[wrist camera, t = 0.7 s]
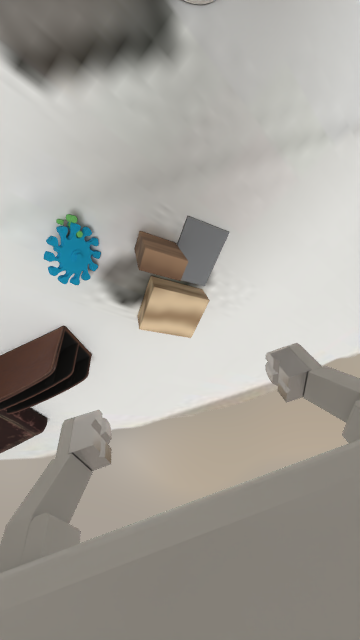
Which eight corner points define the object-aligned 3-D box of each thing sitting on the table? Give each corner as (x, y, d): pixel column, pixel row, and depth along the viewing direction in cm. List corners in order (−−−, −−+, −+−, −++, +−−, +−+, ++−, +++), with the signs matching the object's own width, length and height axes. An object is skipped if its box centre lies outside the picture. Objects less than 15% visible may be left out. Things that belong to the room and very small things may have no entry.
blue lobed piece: (101, 282, 44) (50, 291, 35) (80, 273, 46) (27, 279, 38) (105, 220, 39) (48, 212, 31) (81, 213, 41) (22, 205, 33)
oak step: (150, 275, 47) (154, 286, 43) (202, 289, 51) (209, 300, 47) (137, 316, 51) (139, 329, 47) (185, 325, 56) (191, 337, 52)
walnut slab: (139, 230, 41) (145, 247, 33) (175, 242, 44) (188, 261, 36) (134, 249, 43) (138, 269, 35) (169, 259, 46) (180, 280, 38)
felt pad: (187, 215, 42) (188, 216, 41) (228, 231, 45) (229, 232, 45) (166, 275, 47) (166, 275, 47) (203, 285, 51) (204, 286, 50)
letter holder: (-17, 362, 49) (-56, 422, 38) (64, 324, 49) (49, 373, 37) (19, 387, 55) (-6, 445, 44) (92, 353, 55) (86, 404, 43)
